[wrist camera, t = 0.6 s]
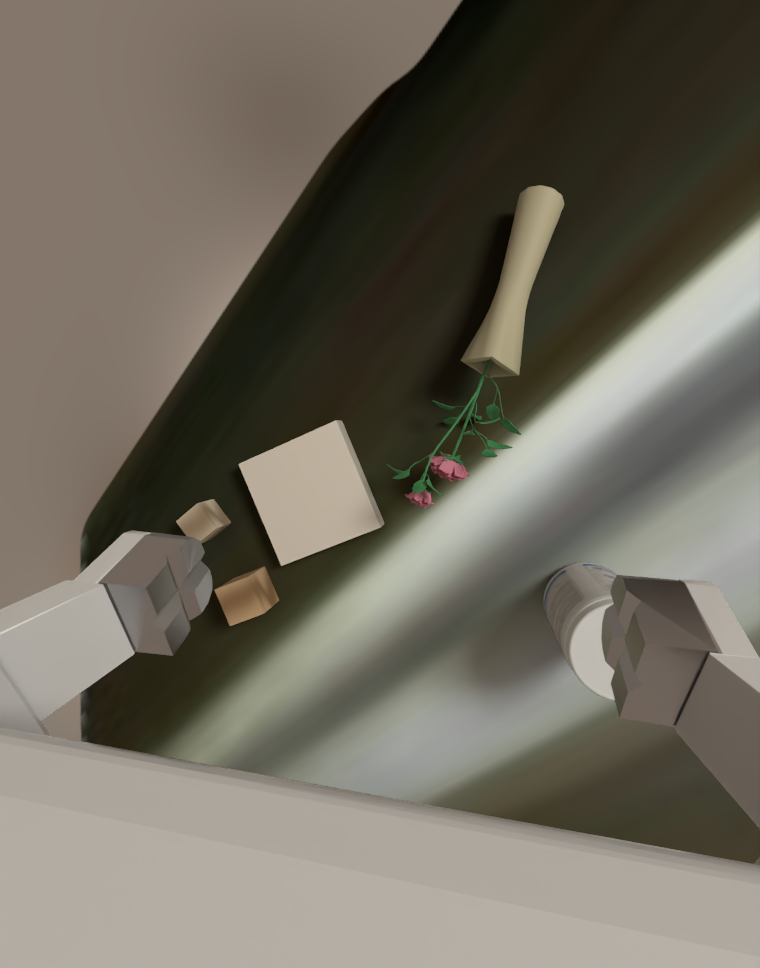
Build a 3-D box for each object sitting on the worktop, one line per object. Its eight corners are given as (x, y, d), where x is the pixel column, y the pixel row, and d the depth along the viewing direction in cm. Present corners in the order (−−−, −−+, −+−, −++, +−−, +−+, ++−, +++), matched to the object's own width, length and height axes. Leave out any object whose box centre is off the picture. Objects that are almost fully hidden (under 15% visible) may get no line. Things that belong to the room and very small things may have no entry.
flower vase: (549, 262, 61) (468, 526, 59) (461, 223, 59) (374, 495, 57) (609, 208, 50) (511, 534, 47) (502, 158, 48) (394, 495, 45)
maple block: (231, 522, 65) (216, 528, 61) (210, 539, 66) (194, 546, 62) (213, 499, 65) (197, 503, 61) (193, 516, 66) (175, 521, 62)
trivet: (384, 523, 61) (380, 527, 58) (288, 560, 64) (281, 565, 61) (341, 420, 61) (336, 420, 58) (247, 463, 64) (238, 464, 61)
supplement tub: (563, 649, 58) (593, 720, 44) (528, 579, 58) (546, 627, 44) (642, 619, 56) (701, 683, 42) (606, 546, 56) (652, 585, 42)
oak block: (279, 600, 65) (263, 613, 60) (247, 611, 66) (229, 626, 61) (264, 566, 65) (247, 576, 60) (233, 578, 66) (214, 589, 61)
